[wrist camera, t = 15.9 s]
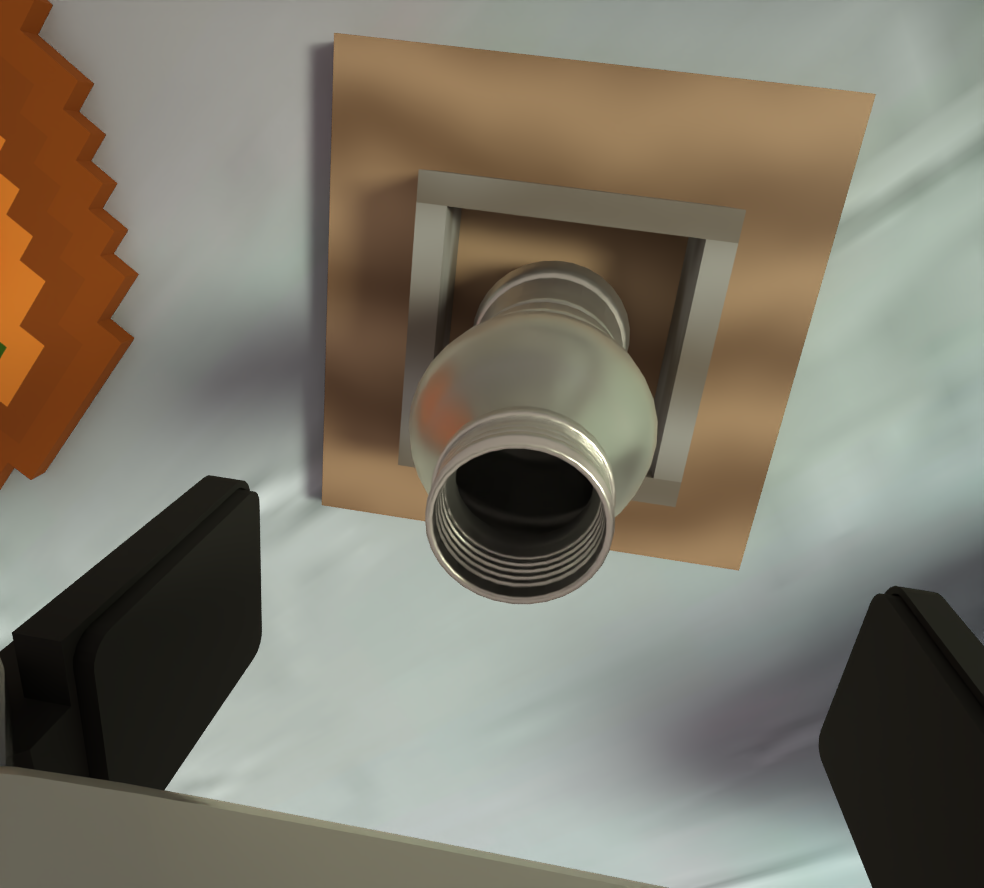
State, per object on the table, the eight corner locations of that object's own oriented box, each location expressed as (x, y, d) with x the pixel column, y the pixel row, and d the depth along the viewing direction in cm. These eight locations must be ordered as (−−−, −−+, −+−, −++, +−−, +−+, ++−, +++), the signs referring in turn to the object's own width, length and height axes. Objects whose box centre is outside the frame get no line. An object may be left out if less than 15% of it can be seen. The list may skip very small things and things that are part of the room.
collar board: (345, 39, 30) (298, 10, 25) (861, 98, 29) (923, 80, 23) (330, 493, 38) (293, 541, 33) (732, 555, 37) (758, 616, 32)
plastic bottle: (630, 385, 32) (707, 656, 14) (489, 400, 33) (384, 671, 15) (619, 244, 30) (691, 341, 12) (469, 265, 31) (315, 385, 13)
